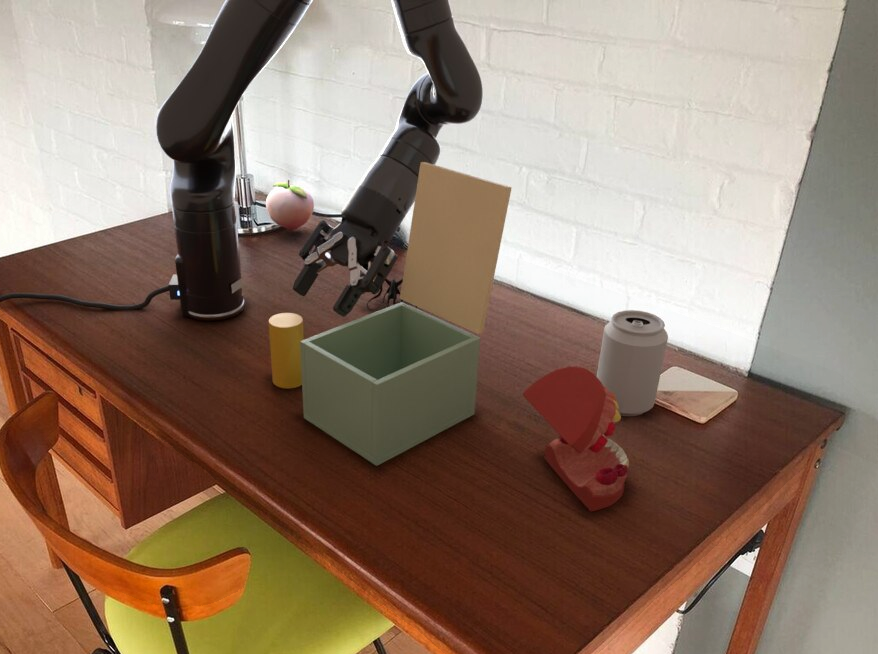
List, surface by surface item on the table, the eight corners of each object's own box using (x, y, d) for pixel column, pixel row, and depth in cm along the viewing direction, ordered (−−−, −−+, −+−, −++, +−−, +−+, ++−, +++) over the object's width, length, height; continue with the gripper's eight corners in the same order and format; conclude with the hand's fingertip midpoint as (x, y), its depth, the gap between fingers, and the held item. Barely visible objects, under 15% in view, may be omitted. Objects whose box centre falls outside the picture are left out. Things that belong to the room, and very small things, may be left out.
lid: (507, 187, 91) (512, 187, 92) (420, 161, 100) (425, 161, 101) (478, 334, 98) (483, 333, 99) (399, 298, 107) (404, 298, 108)
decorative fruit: (257, 232, 161) (254, 181, 155) (284, 220, 166) (281, 171, 161) (295, 242, 156) (293, 190, 151) (322, 229, 162) (320, 179, 157)
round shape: (271, 388, 110) (267, 327, 105) (273, 372, 113) (269, 312, 109) (304, 388, 110) (302, 327, 105) (306, 372, 113) (303, 312, 109)
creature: (415, 323, 129) (418, 292, 135) (416, 295, 125) (419, 265, 131) (365, 321, 130) (370, 290, 135) (364, 293, 126) (369, 263, 132)
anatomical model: (659, 491, 89) (632, 388, 81) (597, 528, 89) (564, 429, 80) (603, 440, 98) (573, 343, 90) (546, 474, 97) (511, 379, 89)
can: (654, 394, 108) (671, 311, 102) (651, 424, 102) (669, 337, 96) (595, 385, 110) (609, 302, 104) (589, 413, 104) (603, 328, 98)
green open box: (376, 466, 95) (377, 384, 89) (303, 418, 103) (299, 341, 98) (474, 414, 104) (480, 337, 99) (400, 374, 113) (401, 301, 107)
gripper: (332, 172, 112) (268, 274, 111) (405, 197, 103) (336, 307, 102) (361, 202, 118) (301, 299, 117) (433, 228, 109) (368, 333, 108)
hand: (317, 303), depth 110 cm, fingers open, 8 cm apart
